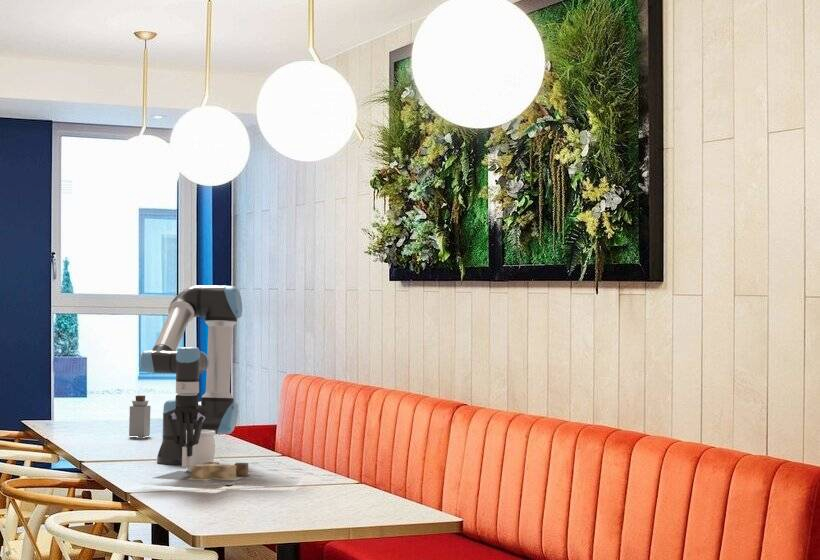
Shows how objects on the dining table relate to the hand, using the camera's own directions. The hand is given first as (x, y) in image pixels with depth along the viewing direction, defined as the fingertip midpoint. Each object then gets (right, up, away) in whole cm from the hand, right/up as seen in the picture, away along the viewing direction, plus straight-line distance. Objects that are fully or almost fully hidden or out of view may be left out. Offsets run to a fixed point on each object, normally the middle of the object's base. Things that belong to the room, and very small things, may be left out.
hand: (185, 466), depth 366 cm
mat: (+6, -4, -2) cm, 8 cm away
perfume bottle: (-44, -7, +118) cm, 127 cm away
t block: (+11, -3, -4) cm, 12 cm away
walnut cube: (+18, -3, +1) cm, 18 cm away
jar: (+2, -5, +12) cm, 13 cm away
